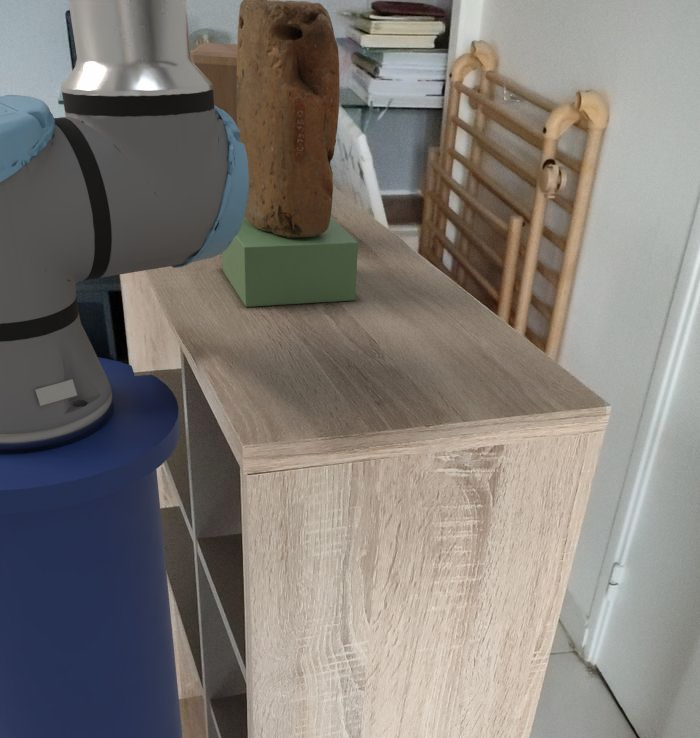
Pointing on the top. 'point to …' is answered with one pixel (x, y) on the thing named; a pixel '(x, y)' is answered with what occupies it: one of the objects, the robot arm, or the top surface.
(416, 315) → the top surface
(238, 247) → the green base
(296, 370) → the top surface
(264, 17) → the brown porous chunk
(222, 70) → the wooden block
